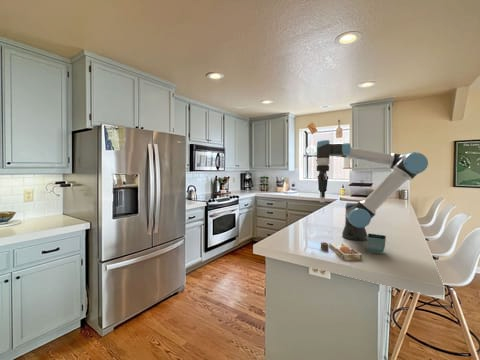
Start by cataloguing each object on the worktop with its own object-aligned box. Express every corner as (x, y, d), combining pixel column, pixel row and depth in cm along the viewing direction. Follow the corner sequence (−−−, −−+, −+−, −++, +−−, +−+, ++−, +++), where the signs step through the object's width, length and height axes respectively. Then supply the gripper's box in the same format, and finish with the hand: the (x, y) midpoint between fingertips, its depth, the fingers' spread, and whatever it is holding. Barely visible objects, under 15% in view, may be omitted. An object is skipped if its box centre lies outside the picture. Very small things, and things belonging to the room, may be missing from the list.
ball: (352, 251, 125) (350, 256, 129) (348, 243, 129) (346, 247, 133) (342, 253, 126) (341, 257, 129) (339, 244, 129) (337, 248, 133)
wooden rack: (353, 253, 131) (353, 248, 131) (361, 259, 122) (362, 254, 122) (336, 253, 131) (336, 248, 131) (343, 260, 122) (343, 254, 122)
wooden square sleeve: (326, 248, 140) (326, 242, 140) (328, 250, 136) (328, 244, 136) (320, 248, 140) (320, 242, 139) (322, 250, 136) (322, 244, 136)
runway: (342, 246, 143) (342, 242, 143) (352, 253, 131) (352, 249, 131) (329, 246, 143) (329, 242, 143) (337, 253, 131) (337, 249, 131)
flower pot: (385, 256, 127) (385, 239, 127) (366, 253, 132) (366, 236, 131) (385, 251, 135) (386, 235, 134) (367, 248, 139) (368, 233, 139)
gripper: (313, 165, 160) (313, 200, 161) (320, 164, 147) (319, 203, 148) (325, 165, 160) (324, 200, 161) (332, 164, 147) (332, 203, 148)
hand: (322, 202), depth 155 cm, fingers closed
